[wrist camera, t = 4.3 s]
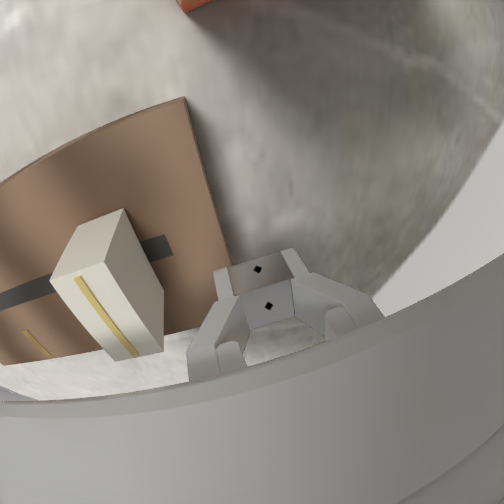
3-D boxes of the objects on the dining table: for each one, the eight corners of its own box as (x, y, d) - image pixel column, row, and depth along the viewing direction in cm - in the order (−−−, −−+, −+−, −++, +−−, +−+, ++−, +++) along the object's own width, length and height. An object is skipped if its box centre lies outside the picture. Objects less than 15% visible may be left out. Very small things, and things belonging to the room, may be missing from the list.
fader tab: (123, 208, 11) (103, 263, 8) (164, 290, 14) (163, 353, 11) (77, 226, 11) (48, 282, 8) (123, 302, 14) (115, 363, 11)
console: (183, 91, 12) (179, 98, 7) (235, 272, 20) (258, 354, 14) (-58, 226, 11) (-102, 280, 6) (15, 332, 19) (-5, 393, 13)
